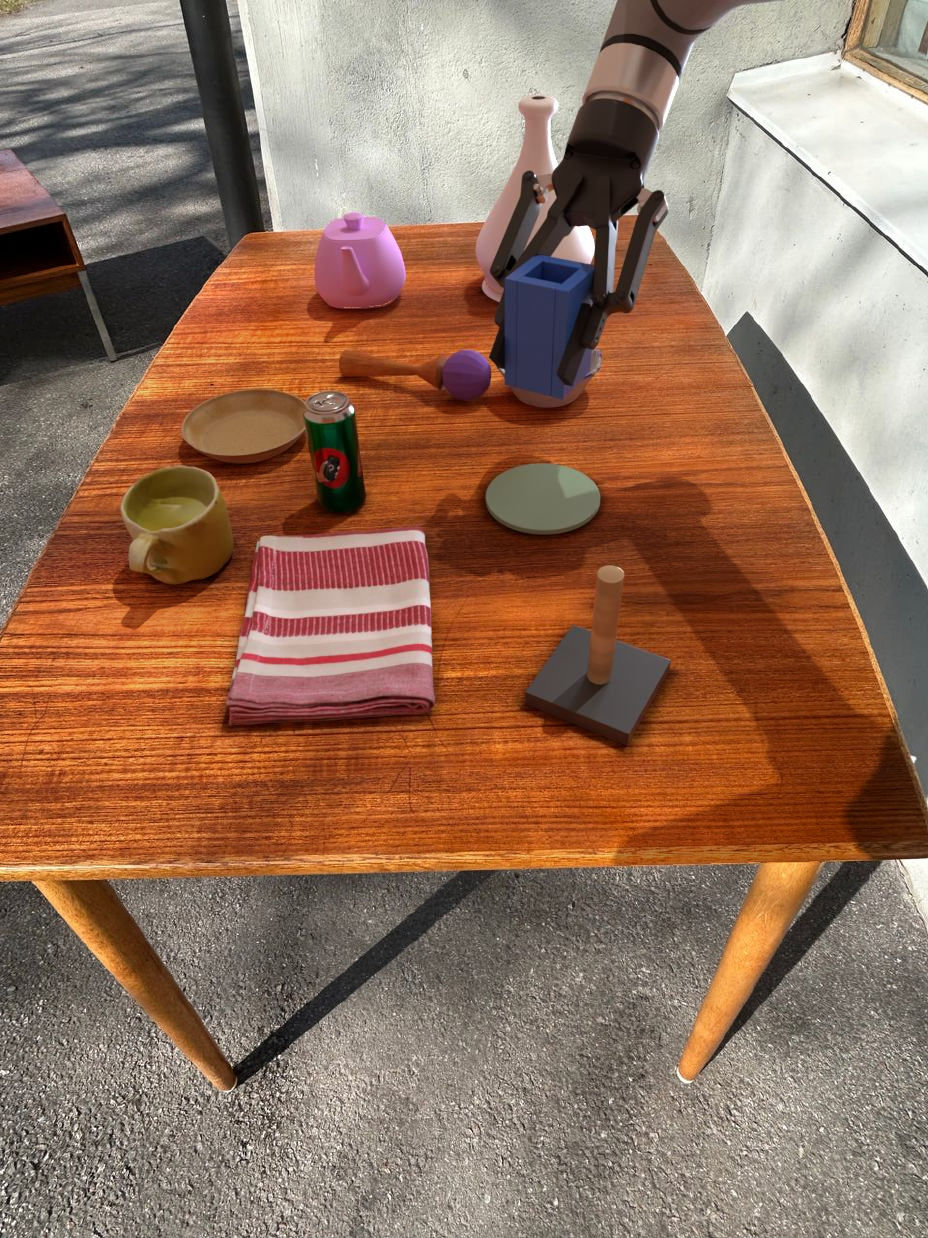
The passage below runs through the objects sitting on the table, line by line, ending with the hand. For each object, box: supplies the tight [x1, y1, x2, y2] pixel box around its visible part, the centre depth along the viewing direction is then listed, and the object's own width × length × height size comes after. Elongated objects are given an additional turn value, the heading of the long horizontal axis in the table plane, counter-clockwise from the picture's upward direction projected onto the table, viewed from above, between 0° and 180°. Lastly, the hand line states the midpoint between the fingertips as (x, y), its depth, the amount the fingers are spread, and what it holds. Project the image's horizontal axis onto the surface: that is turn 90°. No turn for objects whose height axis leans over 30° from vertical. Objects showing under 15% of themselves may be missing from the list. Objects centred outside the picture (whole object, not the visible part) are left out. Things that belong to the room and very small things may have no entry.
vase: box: [474, 94, 595, 303], centre depth 123 cm, size 17×17×25 cm
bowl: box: [495, 347, 603, 409], centre depth 106 cm, size 13×13×5 cm
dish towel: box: [224, 526, 436, 727], centre depth 78 cm, size 17×23×3 cm
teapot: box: [313, 211, 407, 310], centre depth 125 cm, size 20×13×12 cm, turn 0°
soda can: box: [303, 390, 367, 515], centre depth 88 cm, size 5×5×12 cm
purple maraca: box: [338, 349, 492, 402], centre depth 108 cm, size 6×6×20 cm
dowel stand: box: [524, 564, 672, 747], centre depth 68 cm, size 9×9×12 cm
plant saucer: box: [180, 388, 306, 465], centre depth 101 cm, size 15×15×3 cm
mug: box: [119, 464, 235, 585], centre depth 83 cm, size 12×10×10 cm
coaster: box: [485, 462, 601, 536], centre depth 91 cm, size 12×12×1 cm
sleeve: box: [504, 254, 595, 399], centre depth 78 cm, size 6×6×10 cm
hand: (530, 371), depth 78 cm, fingers closed on sleeve, 6 cm apart
